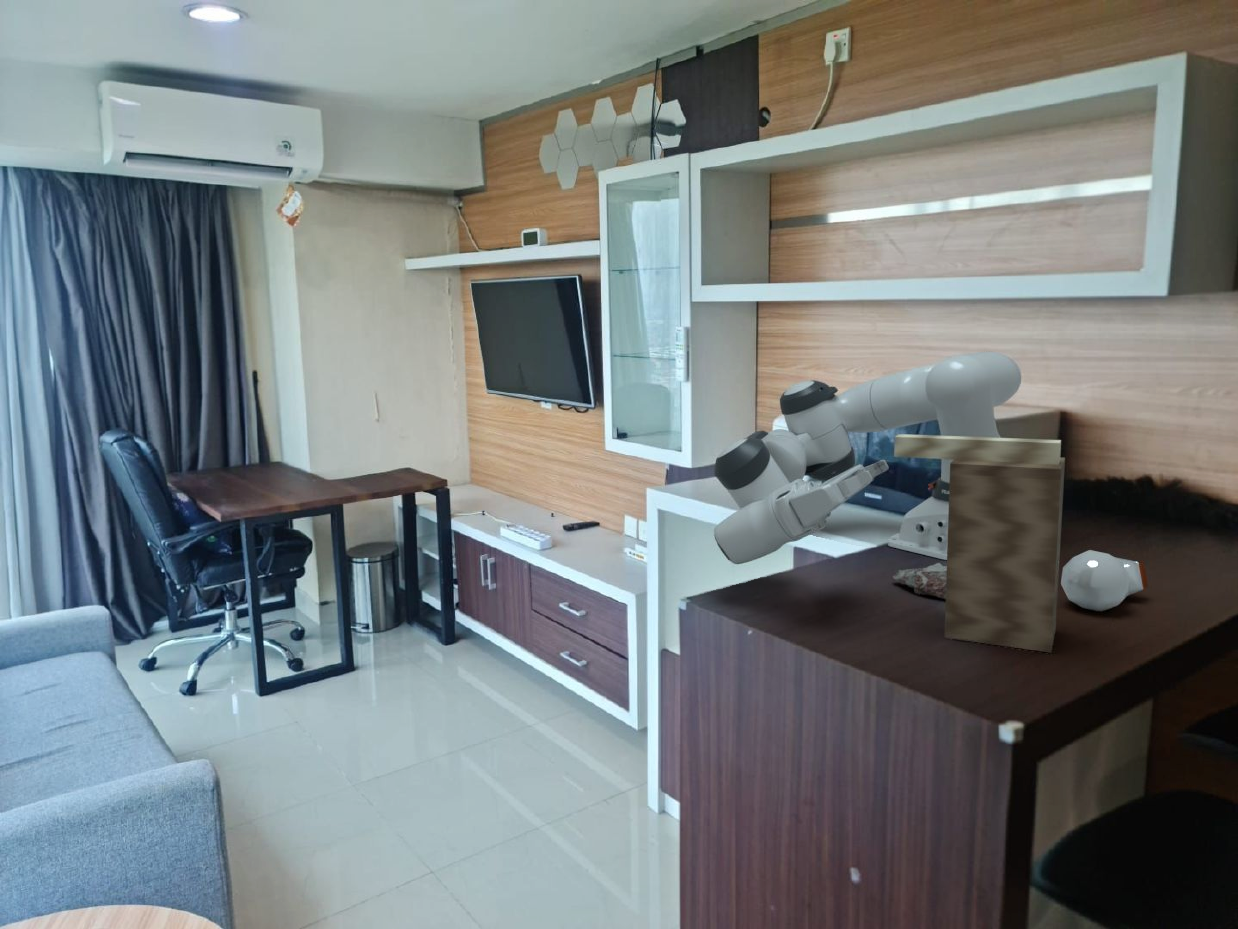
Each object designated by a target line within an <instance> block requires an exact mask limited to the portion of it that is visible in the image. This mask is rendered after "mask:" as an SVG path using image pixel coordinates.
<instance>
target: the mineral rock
mask: <svg viewBox="0 0 1238 929" xmlns="http://www.w3.org/2000/svg"><path fill="white" fill-rule="evenodd" d="M946 576H947V565H943V564H942V563H940V562H937V563H935V564H933V565H928V566H927V567H920V568H915V567H914V568H910V569H909V568H907V569H898V570H896V572H895V573H894V575H893V576H892V579H893V580H895V581H896V582H899V583H900V584H901V585H906V586H907V587H909V588H913V591H914V594H916V595H920V594H922V595H921V596H924V595H925V596H926V595H929V596H933V597H937V598H940V599H942V600H946Z"/></svg>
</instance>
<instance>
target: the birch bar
mask: <svg viewBox="0 0 1238 929" xmlns="http://www.w3.org/2000/svg"><path fill="white" fill-rule="evenodd" d="M893 445H894V448H893V449H894V450H893V451H894V452H893V457H895V458H912V459H913V458H916V459H933V460H934V459H935V460H942V459H952V460H972V461H992V462H1013V463H1033V464H1053V465H1059V463H1060V457H1061V452H1062V451H1061V450H1062V447H1061V446H1062V440H1061V439H1042V438H1041V439H1039V438H1037V439H1036V438H1014V437H1013V438H1011V437H1001V438H990V437H963V436H941V435H935V434H934V435H933V434H931V435H929V434H908V433H907V434H906V433H904V434H901V433H898V434H897V435H895V436H894V444H893Z"/></svg>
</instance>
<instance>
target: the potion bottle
mask: <svg viewBox="0 0 1238 929" xmlns="http://www.w3.org/2000/svg"><path fill="white" fill-rule="evenodd" d="M1060 579H1061V582H1060V584H1061V587H1062V588H1063V591H1064V593H1065V594H1066V597H1067V599H1068V600H1069V601H1071V602H1072V603H1073V604H1076V605H1077V606H1079V607H1081V608H1082V609H1087V610H1091V611H1096V612H1099V611H1100V612H1099V613H1102V612H1104V611H1106V610H1110V609H1112V608H1114V607H1117V606H1119V605H1120V604H1121V603H1122V602H1123V601H1124V600H1125V599H1126V598H1127V597H1129V596H1132V595H1133V594H1136V593H1138V592H1141V591H1143V590H1147V589H1148V588H1149V585H1148V580H1147V576H1146V569H1145V565H1144V563H1142V562H1139V561H1135V560H1130V559H1124V558H1120V557H1115V556H1113V555H1111V554H1110V553H1108V552H1107V553H1106V552H1102V551H1101V552H1100V551H1098V550H1097V551H1095V550H1092V549H1089V550H1088V549H1087V551H1084V552H1082V553H1080V554H1078V555H1075V556H1073V557H1072V558H1071V559H1069V561H1067V563H1066V564H1065V565H1064V566H1063V567H1062V573H1061V578H1060Z"/></svg>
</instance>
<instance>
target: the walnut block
mask: <svg viewBox="0 0 1238 929" xmlns="http://www.w3.org/2000/svg"><path fill="white" fill-rule="evenodd" d="M1065 463H1066V457H1061V456H1060V463H1059V465H1053V464H1033V463H1013V462H992V461H972V460H953V461H952V462H951V463H950V485H949V515H948V546H947V560H946V566H947V576H946V599H945V612H944V616H945V617H944V637H945V636H948V637H952V638H962V639H968V640H974V641H979V642H984V643H990V644H999V645H1005V646H1011V647H1015V648H1017V647H1018V648H1023V649H1028V650H1029V649H1030V650H1038V651H1039V650H1040V651H1045V652H1050V653H1051V654H1052V652H1051V651H1053V647H1052V646H1054V640H1055V636H1054V635H1056V630H1057V629H1056V627H1057V608H1058V595H1059V594H1058V593H1059V592H1058V591H1059V576H1060V575H1059V574H1060V559H1061V558H1060V554H1061V541H1062V540H1061V539H1062V538H1061V537H1062V536H1061V535H1062V520H1063V519H1062V518H1063V503H1064V502H1063V501H1064V483H1065V466H1066V464H1065Z"/></svg>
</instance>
